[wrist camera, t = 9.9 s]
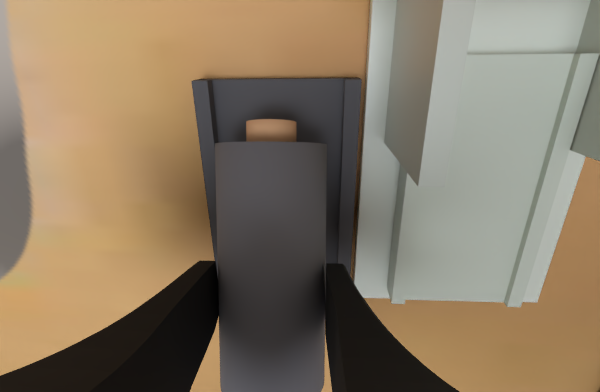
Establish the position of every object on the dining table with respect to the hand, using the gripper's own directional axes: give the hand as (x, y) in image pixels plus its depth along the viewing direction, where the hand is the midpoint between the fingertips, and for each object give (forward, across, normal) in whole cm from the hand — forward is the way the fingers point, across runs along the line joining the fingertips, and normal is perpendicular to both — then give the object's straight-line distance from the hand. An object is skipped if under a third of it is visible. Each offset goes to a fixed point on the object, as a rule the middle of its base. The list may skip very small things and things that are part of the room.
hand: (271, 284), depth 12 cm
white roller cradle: (+4, -8, -4) cm, 10 cm away
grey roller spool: (0, 0, -1) cm, 1 cm away
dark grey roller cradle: (+4, 0, -1) cm, 4 cm away
